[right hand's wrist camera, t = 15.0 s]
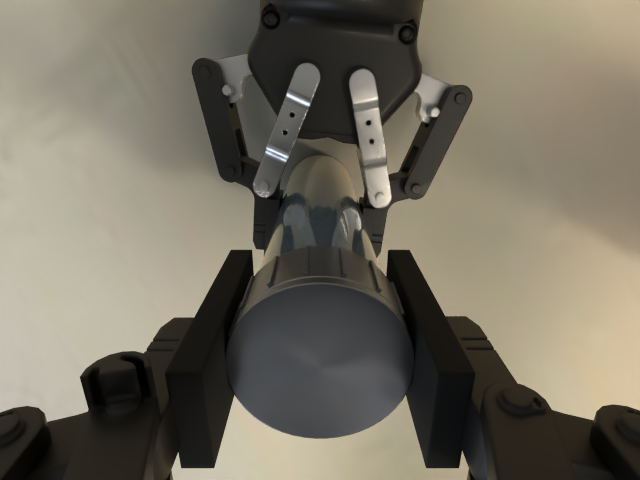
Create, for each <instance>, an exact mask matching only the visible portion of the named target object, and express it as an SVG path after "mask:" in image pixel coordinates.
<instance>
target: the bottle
mask: <svg viewBox="0 0 640 480" xmlns="http://www.w3.org/2000/svg"><path fill="white" fill-rule="evenodd" d="M306 245H309V246H331V247H338V248H340V247H343V248H344V249H346V250H349V251H352V252H354V253H357V254H359V255H361V256H362V257H364V258H366V259H368V260H369V261H370V260H372V261H373V262H374V264H375V265H376V266H377V267H378V268H379V269H380V267H379V264H378V261H377V258H376V255H375V252H374V249H373V246H372V243H371V240H370V237H369V234H368V231H367V227H366V224H365V221H364V218H363V215H362V212H361V209H360V206H359V203H358V200H357V197H356V194H355V191H354V188H353V185H352V182H351V178H350V176H349V173H348V171H347V169H346V168H345V167H344V165H343V164H342V163H341V162H339V161H338V160H336V159H335V158H332V157H330V156H326V155H314V156H310V157H308V158H305V159H304V160H302V161H301V162H300V163H298V164H297V166H296V167H295V168H294V169H293V171H292V173H291V176H290V179H289V182H288V185H287V188H286V191H285V194H284V197H283V200H282V203H281V206H280V210H279V213H278V216H277V219H276V222H275V225H274V228H273V231H272V234H271V237H270V240H269V243H268V246H267V249H266V252H265V256H264V259H263V262H262V265H261V268H262V267H263V266H264V265H266V264H267V263H268V262H270V261H271V260H272V259H274V256H276V255H277V256H280V255H281V254H284V253H286V252H289V251H291V250H294V249H298V248H302V247H306ZM261 268H260V269H261Z"/></svg>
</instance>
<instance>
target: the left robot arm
mask: <svg viewBox="0 0 640 480" xmlns="http://www.w3.org/2000/svg"><path fill="white" fill-rule="evenodd" d="M422 6H423V0H261V5H260V23H259V27H258V31H257V34H256V36H255V38H254V40H253V42H252V43H251V45H250V47H249V50H248V54H244V55H238V56H233V57H228V58H223V59H218V60H214V59H209V58H200V59H198V60H196V61H195V62H194V64H193V66H192V75H193V78H194V82H195V86H196V90H197V93H198V97H199V101H200V104H201V108H202V112H203V115H204V119H205V123H206V126H207V130H208V134H209V138H210V141H211V145H212V149H213V152H214V156H215V160H216V163H217V167H218V171H219V174H220V176H221V178H222V179H223V180H225V181H227V182H237V183H239V184H241V185H244V186H246V187H247V188H249V189H250V190H251V191H252V193H253V195H254V198H255V206H254V231H253V242H254V244H255V247H256V249H262V250H264V256H265V252H266V249H267V246H268V243H269V240H270V237H271V234H272V231H273V228H274V225H275V222H276V219H277V216H278V213H279V210H280V206H281V203H282V200H283V190H280V178H281V175H282V173H283V171H284V168H285V166H286V163H287V161H288V158H289V156H290V153H291V151H292V149H293V146H294V144H295V141H296V139H297V138H301V139H311V140H313V139H319V138H325V137H330V138H332V139H335V140H337V141H340V142H343V143H351V144H356V149H357V154H358V158H359V163H360V168H361V174H362V179H363V185H364V189H365V192H364V198H363V197H360V198H359V206H360V209H361V212H362V215H363V218H364V221H365V224H366V227H367V231H368V234H369V237H370V240H371V243H372V246H373V249H374V252H375V255H376V258H377V257H378V255H379V254H380V252H381V246H382V240H383V234H384V228H385V222H386V216H387V211H388V209H389V207H390V206H391V205H392V204H393V203H395V202H397V201H400V200H404V199H408V198H410V199H414V200H416V199H420V198H422V197H423V196H424V195H425V194H426V192H427V190H428V188H429V186H430V184H431V182H432V180H433V178H434V176H435V174H436V172H437V170H438V168H439V166H440V164H441V162H442V160H443V158H444V156H445V154H446V152H447V150H448V148H449V146H450V144H451V142H452V140H453V138H454V136H455V134H456V132H457V130H458V128H459V126H460V124H461V122H462V120H463V118H464V116H465V114H466V112H467V110H468V108H469V106H470V104H471V102H472V92H471V90H470V89H469V88H468V87H467V86H464V85H449V84H447V83H444V82H442V81H440V80H438V79H435V78H433V77H431V76H429V75H426V74H424V73H422V65H421V62H420V59H419V56H418V51H417V36H418V30H419V24H420V18H421V12H422ZM251 75H253V77H254V78H255V80H256V82H257V83H258V85H259V87H260V88H261V90H262V92H263V93H264V95H265V97H266V98H267V100H268V102H269V103H270V105H271V107H272V108H273V110H274V112H275V113H276V115H277V117H278V118H277V120H276V123H275V125H274V128H273V131H272V133H271V136H270V138H269V141H268V144H267V146H266V150H265V153H264V156H263V158H262V161H261V163H260V162H258V161H256V160H254V159H252V158H250V157H249V156H248V152H247V148H246V144H245V140H244V136H243V131H242V127H241V123H240V119H239V115H238V111H237V106H236V102H239V101H240V100H242V99H243V97H244V95H245V82H246V80H247V78H248V77H249V76H251ZM412 93H414V94H415V95H416V97H417V106H416V116H417V118H418V119H419V120H420V121H422V122H421V125H420V127H419V129H418V131H417V133H416V135H415V137H414V140H413V142H412V144H411V146H410V148H409V150H408V152H407V155H406V157H405V159H404V161H403V163H402V165H401V168H400V170H399V172H397V173H393V174H389V175H388V170H387V156H386V149H385V143H384V137H383V130H382V126H383V124H384V123H385V122H386V121H387V120H388V119H389V118H390V117H391V116H392V115H393V114H394V112H395V111H396V110H397V109H398V108H399V107H400V106H401V105H402V104H403V103H404V101H405V100H406V99H407V98H408V97H409V96H410V95H411V94H412Z"/></svg>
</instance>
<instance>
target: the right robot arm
mask: <svg viewBox="0 0 640 480" xmlns="http://www.w3.org/2000/svg"><path fill="white" fill-rule="evenodd" d="M252 275H253V276H254V273H253V258H252V250H231V251H230V253H229V255H228V256H227V258H226V260H225V262H224V264H223V266H222V267H221V269H220V271H219V273H218V275H217V277H216V279H215V280H214V282H213V284H212V286H211V288H210V290H209V292H208V293H207V295H206V297H205V299H204V301H203V303H202V305H201V306H200V308H199V310H198V312H197V314H196V316H195V318H173V319H172V320H171V321H169V322H168V323H166V324H165V325H164V326H162V327H161V328H160V330H159V331H158V333H157V334H156V336H155V337H154V339H153V342H151V343H150V345H149V346H148V348H147V352H145V353H144V354H143V353H139V352H136V351H130V352H120V353H116V354H111V355H108V356H106V357H104V358H102V359H100V360H97V361H96V362H94V363H93V364H92V365H90V366H89V367H88V368H86V370H85V371H84V372H83V374H82V375H81V376H80V379H81V383H82V387H83V390H84V394H85V397H86V401H87V405H88V408H89V410H88V412H86V413H82V414H79V415H75V416H71V417H67V418H62V419H58V420H54V421H50V422H47V420H46V417H45V414H44V413H43V412H42V411H41V410H40V409H39V408H36V407H30V406H25V407H18V408H12V409H10V410H7V411H4V412H1V413H0V480H173V477H172V471H171V469H172V466H173V464H174V461H175V459H176V456H177V453H178V452H179V458H180V463H181V468H214V466H215V463H216V459H217V456H218V452H219V448H220V445H221V441H222V437H223V434H224V430H225V427H226V423H227V419H228V416H229V412H230V409H231V405H232V401H233V398H234V393H233V391H232V389H231V386H230V384H229V381H228V378H227V370H226V360H225V351H226V346H227V342H228V339H229V337H228V334H229V331H230V328H231V326H232V323H233V320H234V318H235V315H236V312H237V309H238V307H239V304H240V301H241V302H242V300H243V297H244V295H245V292H246V289H247V286H248V283H249V281H250V278H251V276H252ZM387 278H388V280H389V282H390V283H391V282H393V283H394V286H395V288H396V291H397V294H398V297H399V299H400V302H401V305H402V307H403V310H404V313H405V316H404V319H405V321H406V324H407V327H408V330H409V333H410V335H411V338H412V341H413V345H414V350H415V363H414V372H413V379H412V382H411V385H410V387H409V389H408V391H407V393H406V397H407V400H408V404H409V408H410V411H411V415H412V419H413V422H414V426H415V429H416V433H417V437H418V440H419V444H420V447H421V451H422V455H423V458H424V462H425V466H426V468H459V465H460V459H461V453H462V451H463V454H464V456H465V459H466V461H467V464H468V466H469V471H468V477H467V480H640V411H639V410H636V409H633V408H630V407H627V406H620V405H608V406H602V407H601V408H600V409H599V410H598V411H597V412H596V415H595V418H594V421H593V420H589V419H585V418H581V417H576V416H572V415H568V414H563V413H560V412H557V411H554V410H552V409H551V408H550V406H549V405H548V403H547V402H546V400H545V399H544V398H543V397H541V396H540V395H539V394H538V393H537V392H535V391H534V390H532V389H530V388H528V387H526V386H524V385H521V384H517V382H516V381H515V379H514V378H513V376H512V375H511V373H510V372H509V370H508V369H507V367H506V366H505V364H504V363H503V361H502V360H501V358H500V357H499V355H498V353H497V352H496V350H494V347H493V346H492V344H491V343H490V341H489V340H487V337H486V335H485V334H484V332H483V331H482V329H481V328H480V326H478V325H477V324H476V323H474V322H473V321H472V320H470V319H469V318H467V317H466V316H445V315H444V313H443V311H442V310H441V308H440V306H439V304H438V302H437V300H436V299H435V297H434V295H433V293H432V291H431V289H430V287H429V286H428V284H427V282H426V280H425V278H424V276H423V274H422V273H421V271H420V269H419V267H418V265H417V263H416V261H415V260H414V258H413V256H412V254H411V252H410V250H388V262H387Z"/></svg>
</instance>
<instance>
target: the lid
mask: <svg viewBox="0 0 640 480" xmlns="http://www.w3.org/2000/svg"><path fill="white" fill-rule="evenodd" d="M404 316H405V313H404V310H403V307H402V305H401V302H400V299H399V297H398V294H397V291H396V288H395V286H394V283H393V282H391V283H390V282H389V280H388V278H387V277H386V276H385V275H384V273H383V272H382V271H381V270H380V269H379V268H378V267H377V266H376V265H375V264H374V262H373V261H372V260H370V261H369V260H368V259H366V258H364V257H362V256H361V255H359V254H357V253H354V252H352V251H349V250H346V249H344V248H343V247H340V248H338V247H331V246H309V245H306V247H302V248H298V249H294V250H291V251H289V252H286V253H284V254H281V255H280V256H277V255H276V256H274V259H272V260H271V261H270V262H268V263H267V264H266V265H264V266H263V267H262V268H261V269H260V270H259V271H258V272H257V274H256V275H255V276H253V275H252V276H251V278H250V281H249V283H248V286H247V289H246V292H245V295H244V297H243V300H242V302H241V301H240V304H239V307H238V309H237V312H236V315H235V318H234V320H233V323H232V326H231V328H230V331H229V334H228V337H229V339H228V342H227V346H226V351H225V360H226V370H227V378H228V381H229V384H230V386H231V389H232V391H233V393H234V395H235V396H236V398H237V399H238V401H239V402H240V403H241V404H242V406H243V407H244V408H245V409H246V410H247V411H248V412H249V413H250V414H251V415H253V416H254V417H255V418H256V419H258V420H259V421H261V422H262V423H264V424H266V425H268V426H269V427H271V428H273V429H276V430H278V431H281V432H283V433H287V434H290V435H294V436H299V437H304V438H315V439H319V438H335V437H342V436H346V435H350V434H354V433H357V432H360V431H362V430H364V429H367V428H369V427H371V426H373V425H374V424H376V423H378V422H380V421H381V420H382V419H384V418H385V417H386V416H388V415H389V414H390V413H391V412H392V411H393V410H394V409H395V408H396V407H397V406H398V405H399V403H400V402H401V401H402V400H403V398H404V396H405V395H406V393H407V391H408V389H409V387H410V385H411V382H412V379H413V372H414V363H415V350H414V345H413V341H412V338H411V335H410V333H409V330H408V327H407V324H406V321H405V319H404Z"/></svg>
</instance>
